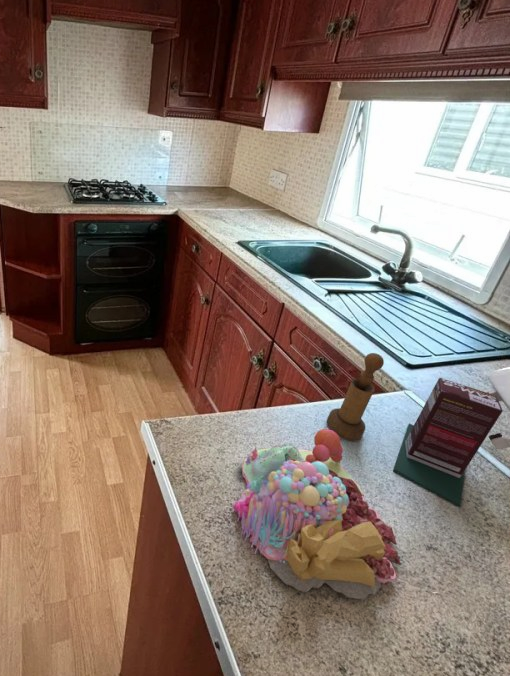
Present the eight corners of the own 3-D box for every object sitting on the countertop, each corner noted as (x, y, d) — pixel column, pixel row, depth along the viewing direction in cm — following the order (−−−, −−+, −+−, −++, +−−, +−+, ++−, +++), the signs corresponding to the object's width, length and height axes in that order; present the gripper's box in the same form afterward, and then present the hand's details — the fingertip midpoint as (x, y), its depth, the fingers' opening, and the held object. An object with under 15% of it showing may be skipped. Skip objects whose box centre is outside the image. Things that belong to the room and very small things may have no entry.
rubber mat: (408, 424, 84) (409, 423, 83) (466, 452, 78) (467, 451, 78) (392, 470, 72) (393, 469, 72) (459, 507, 67) (460, 505, 67)
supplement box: (455, 460, 75) (498, 395, 68) (459, 479, 71) (505, 411, 64) (403, 440, 79) (438, 375, 72) (404, 457, 75) (442, 390, 68)
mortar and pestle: (321, 426, 81) (351, 352, 73) (333, 411, 85) (363, 340, 77) (355, 446, 77) (391, 371, 69) (366, 430, 81) (402, 357, 73)
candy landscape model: (432, 589, 55) (464, 548, 51) (277, 620, 50) (298, 577, 45) (322, 444, 76) (338, 407, 72) (206, 455, 71) (216, 416, 67)
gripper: (540, 347, 71) (451, 375, 78) (619, 425, 54) (496, 452, 61) (556, 374, 72) (467, 399, 79) (639, 460, 55) (516, 483, 62)
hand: (480, 423), depth 70 cm, fingers open, 8 cm apart
